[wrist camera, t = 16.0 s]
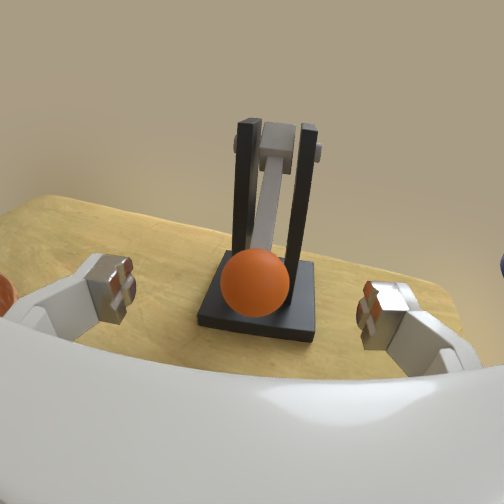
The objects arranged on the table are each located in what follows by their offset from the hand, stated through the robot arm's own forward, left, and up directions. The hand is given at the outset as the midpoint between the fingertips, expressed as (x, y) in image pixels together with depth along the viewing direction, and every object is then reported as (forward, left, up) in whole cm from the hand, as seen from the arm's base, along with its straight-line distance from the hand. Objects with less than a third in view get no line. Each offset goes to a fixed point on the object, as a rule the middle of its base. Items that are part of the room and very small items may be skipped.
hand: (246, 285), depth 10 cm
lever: (0, -10, -2) cm, 10 cm away
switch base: (0, -13, -11) cm, 17 cm away
